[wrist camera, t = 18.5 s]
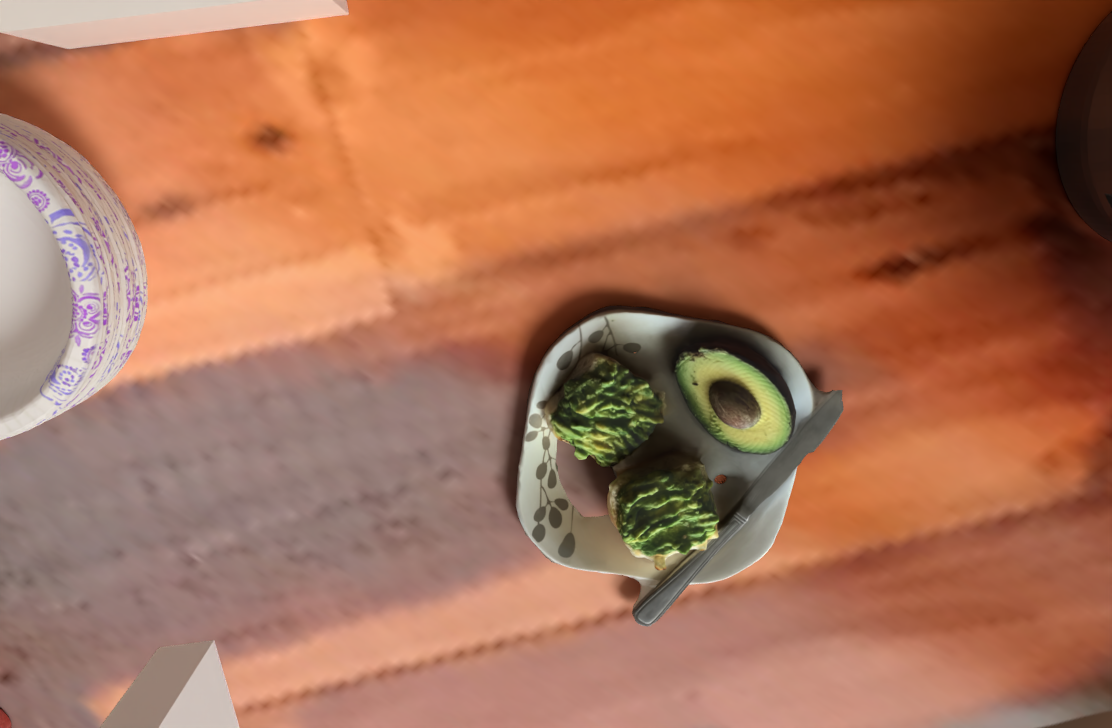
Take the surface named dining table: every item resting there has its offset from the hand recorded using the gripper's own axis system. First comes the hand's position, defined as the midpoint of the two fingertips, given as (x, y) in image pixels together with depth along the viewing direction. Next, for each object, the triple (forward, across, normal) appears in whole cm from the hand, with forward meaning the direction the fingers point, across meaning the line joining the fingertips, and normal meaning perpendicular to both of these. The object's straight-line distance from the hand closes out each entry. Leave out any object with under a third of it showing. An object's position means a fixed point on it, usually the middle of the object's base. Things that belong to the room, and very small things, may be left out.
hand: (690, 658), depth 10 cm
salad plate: (+32, -5, +10) cm, 34 cm away
